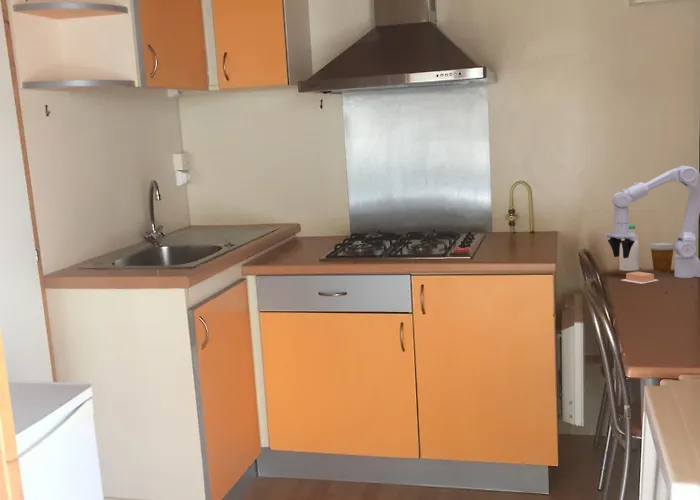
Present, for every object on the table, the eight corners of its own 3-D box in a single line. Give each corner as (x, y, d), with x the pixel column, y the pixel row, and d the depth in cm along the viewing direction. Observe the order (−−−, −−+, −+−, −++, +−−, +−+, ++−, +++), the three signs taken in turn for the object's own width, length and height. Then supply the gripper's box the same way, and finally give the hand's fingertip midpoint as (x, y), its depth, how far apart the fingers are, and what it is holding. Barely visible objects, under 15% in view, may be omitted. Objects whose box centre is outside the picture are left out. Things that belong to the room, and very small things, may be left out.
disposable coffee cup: (670, 270, 314) (670, 241, 312) (677, 274, 304) (678, 244, 303) (646, 270, 315) (646, 242, 313) (653, 274, 305) (653, 245, 304)
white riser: (638, 280, 296) (638, 276, 296) (659, 283, 287) (659, 280, 287) (620, 283, 291) (620, 280, 291) (641, 287, 282) (641, 283, 282)
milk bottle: (640, 274, 309) (640, 225, 306) (620, 274, 310) (620, 226, 307) (637, 270, 316) (637, 223, 313) (618, 271, 318) (618, 224, 315)
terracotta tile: (636, 277, 294) (636, 271, 293) (653, 280, 287) (653, 274, 286) (626, 279, 291) (626, 273, 291) (643, 282, 284) (643, 276, 284)
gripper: (599, 222, 298) (599, 256, 300) (628, 225, 285) (628, 260, 287) (612, 221, 301) (612, 254, 303) (641, 223, 289) (641, 258, 291)
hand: (621, 257), depth 296 cm, fingers open, 4 cm apart
